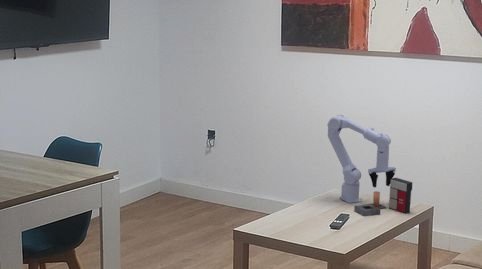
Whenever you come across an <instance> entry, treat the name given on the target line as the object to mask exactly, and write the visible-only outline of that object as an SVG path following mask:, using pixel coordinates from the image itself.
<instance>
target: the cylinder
mask: <svg viewBox="0 0 482 269" xmlns="http://www.w3.org/2000/svg"><path fill="white" fill-rule="evenodd" d="M380 196H381V193H380V191H378V190H377V191H373V197H372V199H373V200H372V204H373V206H375V207H379V204H380Z"/></svg>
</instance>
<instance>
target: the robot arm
mask: <svg viewBox="0 0 482 269" xmlns="http://www.w3.org/2000/svg"><path fill="white" fill-rule="evenodd" d="M327 122H328V123H327V138H328V140H329V142H330V145H331V146H332V148H333V151H334V152H335V154H336V157H337V159H338V161H339V162H340V165H341V167H342V174H343V180H344V182H343V183H342V184H341V192H340V193H341V194H340V196H339V199H341V200H343V201H345V202H346V203H348V204H351V203H361V202H362V201H363V200H362V199H360V196H359V195H360V184H361V183H360V180H361V178H362V172H361V171H360V170H359V169H358V168H357V166H356V165H355V164H354V163H353V162H352V159H351V158H350V156H349V154H348V151H347V149H346V146H345V145H344V143H343V141H342V139H341V137H340V133H341V131H342V129H350V130H352V131H355V132H357V133H359V134H362V137H363V139H365V140H367V141H368V142H369V141H370V142H371V143H373V144H374V145H376V146H377V150H376V151H377V152H376V165H375V166H376V167H372V168H368V171H367V174H368V175H369V177H370V180H371V183H372V187H373V188H377V185H378V184H377V181H378V178H379V175H378V173H379V174H380V173H385V185H386V186H387V187H390V181H391V179H392V178H394V176H395V174H396V171H397V170H396V167H395V166H389V160H390V158H389V156H390V145H391V143H392V142H391V141H392V139H391V138H390V136H389V135H388V134H384V133H382V132H379V131H377V130H375V128H374V127H368V128H365V127H364V126H362V125H360V124H358V123H357V122H356V121H354V120H353V119H350V118H349V117H348V116H344V115H343V114H337V115H336V116H333V117H331V118H330V119H329V120H328V121H327Z"/></svg>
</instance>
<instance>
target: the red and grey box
mask: <svg viewBox="0 0 482 269" xmlns="http://www.w3.org/2000/svg"><path fill="white" fill-rule="evenodd" d="M412 190H413V182H412V181H411V180H410V181H409V180H405V179H402V178H399V177H393V178H392V179H391V181H390V186H389V202H388V208H389V209H391V210H395V211H398V212H400V213H403V214H408V213H410V211H411V201H412V200H411V199H412V198H411V196H412Z"/></svg>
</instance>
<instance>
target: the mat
mask: <svg viewBox="0 0 482 269" xmlns="http://www.w3.org/2000/svg"><path fill="white" fill-rule="evenodd" d="M370 204H371V205H373V203H370ZM365 205H367V203H366V204H365ZM377 208H379V209H381V210H382V209H383V210H384V209H387V208H388V207H387V206H386V205H385V206H384V205H383V204H381V203H379V207H377Z"/></svg>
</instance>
